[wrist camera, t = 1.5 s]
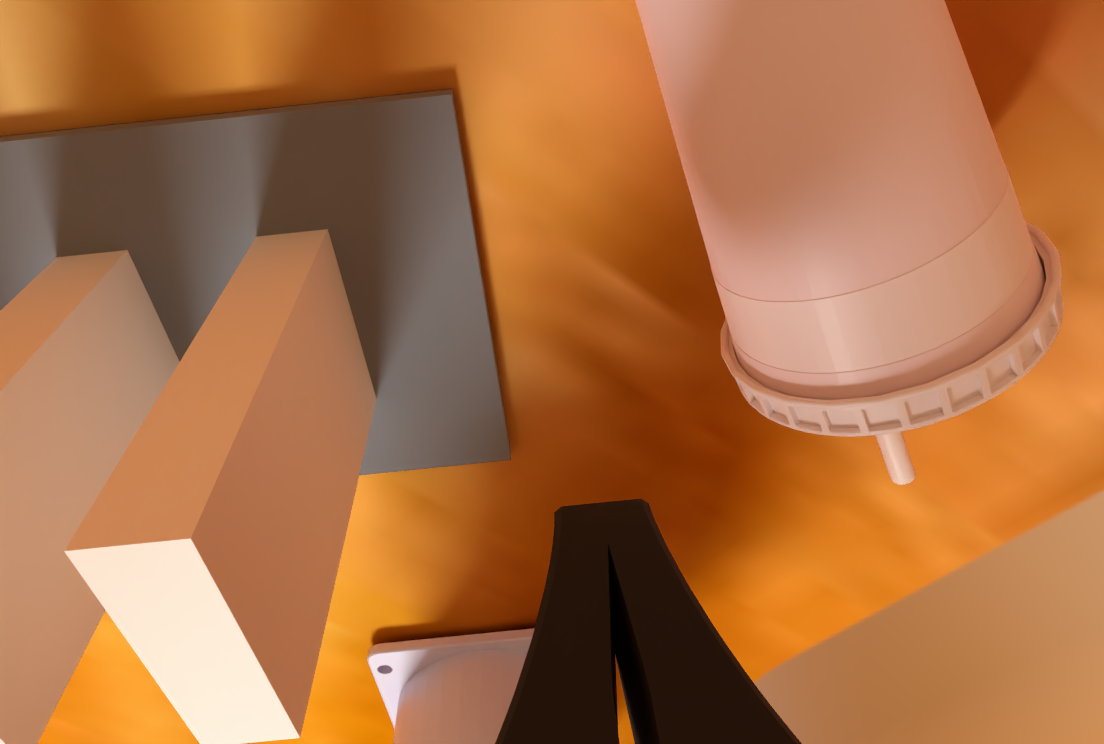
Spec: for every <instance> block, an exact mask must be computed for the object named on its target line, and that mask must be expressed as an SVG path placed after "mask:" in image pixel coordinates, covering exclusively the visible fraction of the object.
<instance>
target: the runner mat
mask: <svg viewBox="0 0 1104 744" xmlns="http://www.w3.org/2000/svg"><path fill="white" fill-rule="evenodd" d="M325 229H328V232H329V235H330V239H331V242H332V246H333V249H334V253H335V256H336V260H337V263H338V267H339V270H340V274H341V277H342V281H343V284H344V287H345V291H346V294H347V298H348V301H349V305H350V308H351V312H352V315H353V319H354V322H355V326H356V329H357V333H358V336H359V340H360V343H361V347H362V350H363V354H364V357H365V361H366V364H367V368H368V371H369V375H370V378H371V382H372V385H373V389H374V392H375V396H376V402H375V407H374V411H373V416H372V420H371V425H370V429H369V433H368V438H367V442H366V447H365V451H364V456H363V460H362V465H361V469H360V474H359V475H366V474H376V473H386V472H396V471H406V470H415V469H425V468H435V467H445V466H455V465H465V464H475V463H485V462H495V461H505V460H511V449H510V443H509V437H508V431H507V425H506V418H505V412H504V406H503V400H502V394H501V387H500V381H499V375H498V369H497V363H496V356H495V350H494V344H493V338H492V331H491V325H490V319H489V313H488V307H487V300H486V294H485V288H484V282H483V276H482V269H481V263H480V257H479V251H478V245H477V238H476V232H475V226H474V220H473V214H472V207H471V201H470V195H469V189H468V182H467V176H466V170H465V164H464V158H463V151H462V145H461V139H460V133H459V127H458V120H457V114H456V108H455V102H454V96H453V89H447V90H438V91H428V92H419V93H409V94H400V95H391V96H381V97H372V98H362V99H353V100H343V101H334V102H324V103H315V104H305V105H296V106H286V107H277V108H267V109H258V110H248V111H239V112H230V113H220V114H211V115H201V116H192V117H182V118H173V119H163V120H154V121H144V122H135V123H125V124H116V125H106V126H97V127H87V128H78V129H68V130H59V131H50V132H40V133H31V134H21V135H12V136H2V137H0V311H1V310H2V309H3V308H4V307H5V306H6V305H7V304H8V303H9V302H10V301H11V300H12V299H13V298H14V297H15V296H16V295H17V294H18V293H20V292H21V291H22V290H23V289H24V288H25V287H26V286H27V285H28V284H29V283H30V282H31V281H32V280H33V279H34V278H35V277H36V276H37V275H38V274H40V273H41V272H42V271H43V270H44V269H45V268H46V267H47V266H48V265H49V264H50V263H51V262H52V261H53V260H54V259H55V258H56V257H65V256H75V255H84V254H94V253H103V252H113V251H123V250H128V252H129V254H130V257H131V259H132V261H133V263H134V265H135V267H136V269H137V272H138V274H139V276H140V278H141V280H142V282H143V284H144V287H145V289H146V291H147V293H148V295H149V297H150V299H151V302H152V304H153V306H154V308H155V310H156V312H157V314H158V317H159V319H160V321H161V323H162V325H163V327H164V330H165V332H166V334H167V336H168V338H169V340H170V342H171V345H172V347H173V349H174V351H175V353H176V355H177V357H178V360H179V362H180V361H181V359H182V358H183V356H184V354H185V353H186V351H187V349H188V348H189V346H190V344H191V343H192V341H193V340H194V338H195V336H196V335H197V333H198V331H199V330H200V328H201V326H202V325H203V323H204V322H205V320H206V318H207V317H208V315H209V313H210V312H211V310H212V308H213V307H214V305H215V304H216V302H217V300H218V299H219V297H220V295H221V294H222V292H223V290H224V289H225V287H226V286H227V284H228V282H229V281H230V279H231V277H232V276H233V274H234V272H235V271H236V269H237V268H238V266H239V264H240V263H241V261H242V259H243V258H244V256H245V254H246V253H247V251H248V250H249V248H250V246H251V245H252V243H253V241H254V240H255V238H256V237H257V236H267V235H276V234H286V233H296V232H305V231H315V230H325Z"/></svg>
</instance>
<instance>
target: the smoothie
mask: <svg viewBox="0 0 1104 744" xmlns="http://www.w3.org/2000/svg"><path fill="white" fill-rule="evenodd" d="M635 1H636V5H637V8H638V12H639V15H640V19H641V22H642V26H643V29H644V33H645V37H646V40H647V44H648V47H649V51H650V54H651V58H652V61H653V65H654V68H655V72H656V75H657V79H658V82H659V86H660V89H661V93H662V96H663V100H664V103H665V107H666V110H667V114H668V117H669V121H670V124H671V128H672V131H673V135H674V138H675V142H676V145H677V149H678V152H679V156H680V159H681V163H682V166H683V170H684V173H685V177H686V180H687V184H688V187H689V191H690V195H691V198H692V202H693V205H694V209H695V212H696V216H697V219H698V223H699V226H700V230H701V233H702V237H703V240H704V244H705V247H706V251H707V254H708V258H709V261H710V265H711V271H712V274H713V278H714V281H715V284H716V287H717V291H718V294H719V297H720V300H721V304H722V307H723V310H724V313H725V317H726V318H725V321H724V324H723V326H722V329H721V355H722V357H723V359H724V361H725V363H726V365H727V367H728V369H729V371H730V373H731V374H732V376H733V377H734V378H735V380H736V382H737V384H738V386H739V389H740V391H741V393H742V394H743V396H744V397H745V399H746V400H747V401H748V402H749V404H750V405H751V406H752V407H753V408H754V409H756V410H757V411H758V412H759V413H760V414H762V415H764V416H765V417H767V418H768V419H770V420H772V421H774V422H776V423H778V424H780V425H783V426H786V427H789V428H791V429H795V430H799V431H803V432H807V433H813V434H819V435H829V436H850V437H857V436H872V435H875V436H876V439H877V441H878V444H879V447H880V450H881V453H882V455H883V458H884V461H885V464H886V466H887V469H888V472H889V475H890V478H891V480H892V481H893V482H894V483H896V484H900V485H904V484H908V483H910V482H912V481H913V480H914V478H915V471H914V468H913V465H912V462H911V459H910V456H909V453H908V450H907V447H906V444H905V441H904V438H903V435H902V432H901V431H906V430H910V429H915V428H919V427H924V426H928V425H931V424H933V423H936V422H939V421H942V420H945V419H948V418H951V417H954V416H956V415H959V414H962V413H964V412H966V411H968V410H970V409H972V408H974V407H977V406H979V405H981V404H982V403H984V402H986V401H988V400H990V399H992V398H994V397H995V396H997V395H998V394H1000V393H1001V392H1003V391H1005V390H1006V389H1008V388H1009V387H1011V386H1012V385H1013V384H1015V383H1016V382H1017V381H1018V380H1020V379H1021V378H1022V377H1024V376H1025V375H1026V374H1027V373H1028V372H1029V371H1030V370H1031V369H1032V368H1033V367H1034V366H1035V365H1036V364H1037V363H1038V362H1039V361H1040V360H1041V358H1042V357H1043V356H1044V355H1045V354H1046V352H1047V351H1048V349H1049V348H1050V346H1051V345H1052V343H1053V342H1054V340H1055V338H1056V336H1057V334H1058V332H1059V329H1060V325H1061V322H1062V317H1063V298H1062V292H1061V286H1060V285H1061V283H1062V272H1061V262H1060V253H1059V251H1058V250H1057V249H1056V247H1055V246H1054V245H1053V243H1052V242H1051V241H1050V239H1049V238H1048V237H1047V235H1046V234H1045V233H1044V231H1043V230H1041V229H1039V228H1037V227H1036V226H1034V225H1032V224H1030V223H1029V222H1027V221H1025V220H1024V217H1023V214H1022V211H1021V208H1020V205H1019V202H1018V199H1017V196H1016V193H1015V190H1014V187H1013V184H1012V181H1011V178H1010V175H1009V173H1008V170H1007V167H1006V165H1005V163H1004V161H1003V159H1002V156H1001V153H1000V150H999V148H998V145H997V142H996V139H995V137H994V134H993V131H992V129H991V126H990V123H989V120H988V118H987V115H986V112H985V109H984V107H983V104H982V101H981V98H980V96H979V93H978V90H977V88H976V85H975V82H974V79H973V77H972V74H971V71H970V68H969V66H968V63H967V60H966V57H965V55H964V52H963V49H962V47H961V44H960V41H959V38H958V36H957V33H956V30H955V27H954V25H953V22H952V19H951V16H950V14H949V11H948V8H947V6H946V3H945V0H635Z"/></svg>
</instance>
